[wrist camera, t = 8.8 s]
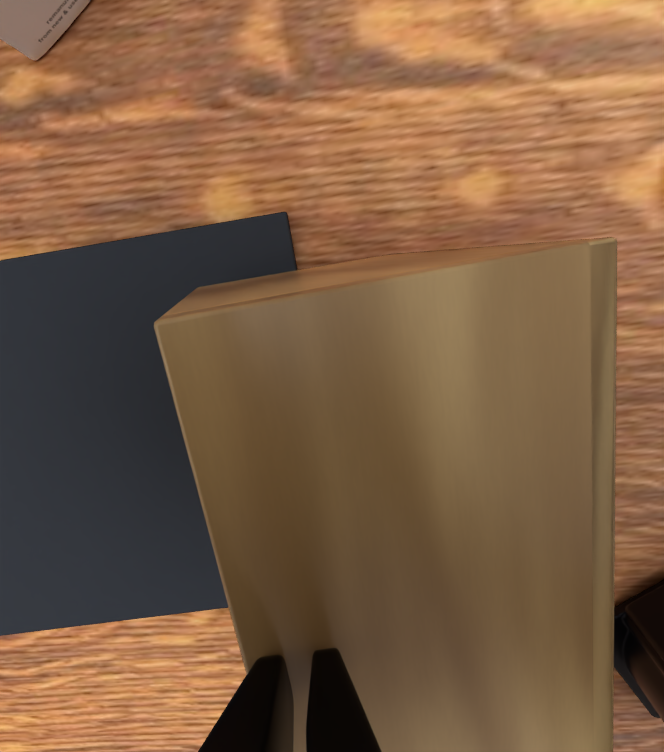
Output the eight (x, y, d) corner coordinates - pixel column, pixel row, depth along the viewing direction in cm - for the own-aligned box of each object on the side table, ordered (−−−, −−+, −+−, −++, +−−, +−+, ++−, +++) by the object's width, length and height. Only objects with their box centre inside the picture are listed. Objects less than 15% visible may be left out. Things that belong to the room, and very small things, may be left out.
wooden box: (619, 236, 7) (151, 321, 6) (614, 788, 10) (311, 921, 9) (391, 253, 16) (195, 287, 15) (425, 537, 20) (266, 584, 18)
